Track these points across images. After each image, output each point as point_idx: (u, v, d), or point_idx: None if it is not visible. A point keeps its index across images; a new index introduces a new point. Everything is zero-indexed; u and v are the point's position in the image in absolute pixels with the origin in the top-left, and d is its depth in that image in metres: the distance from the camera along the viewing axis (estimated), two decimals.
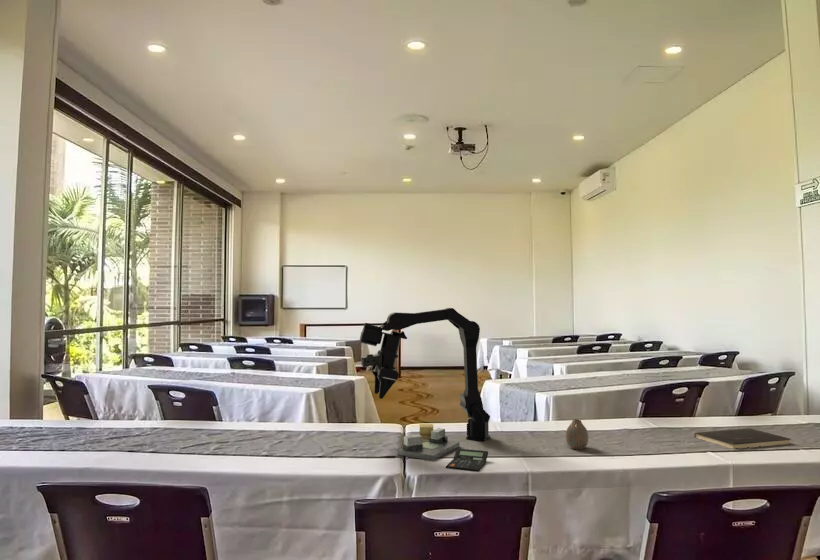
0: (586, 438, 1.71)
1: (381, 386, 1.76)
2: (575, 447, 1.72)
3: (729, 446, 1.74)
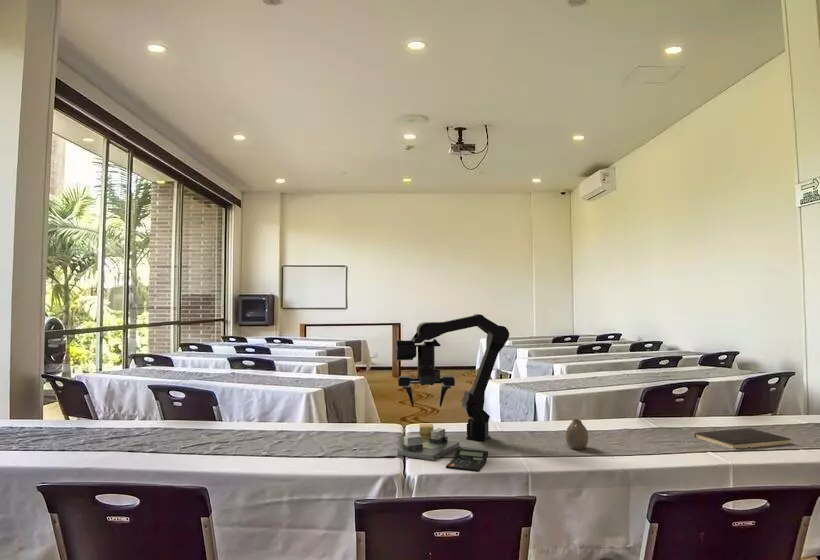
0: (586, 438, 1.71)
1: None
2: (575, 447, 1.72)
3: (729, 446, 1.74)
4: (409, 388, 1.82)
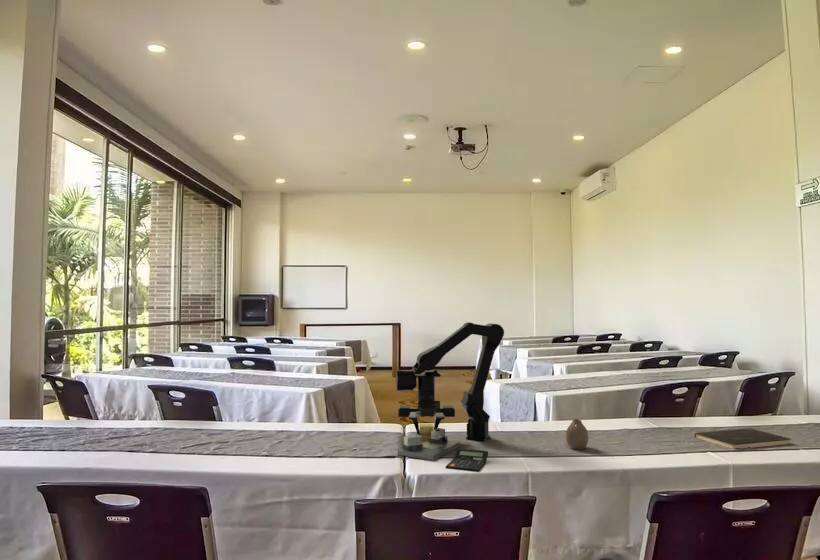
0: (586, 438, 1.71)
1: None
2: (575, 447, 1.72)
3: (729, 446, 1.74)
4: (415, 419, 1.82)
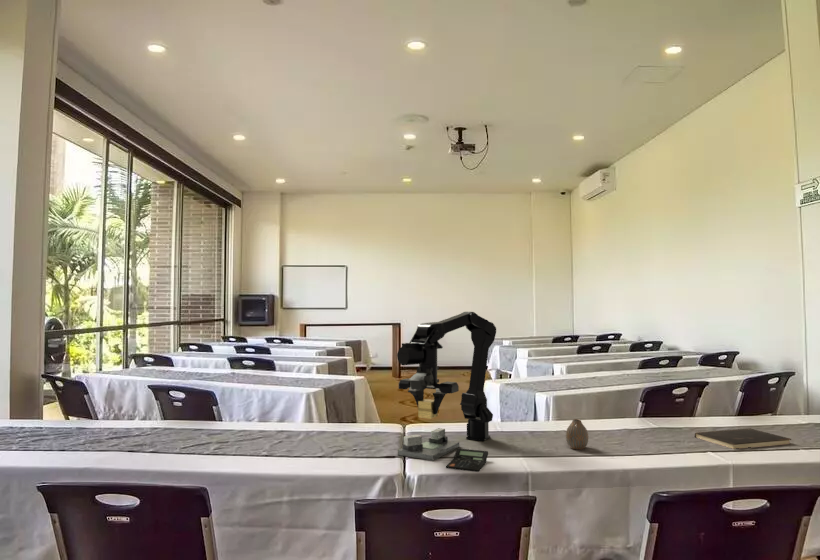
0: (586, 438, 1.71)
1: (437, 402, 1.70)
2: (575, 447, 1.72)
3: (729, 446, 1.73)
4: (413, 392, 1.73)
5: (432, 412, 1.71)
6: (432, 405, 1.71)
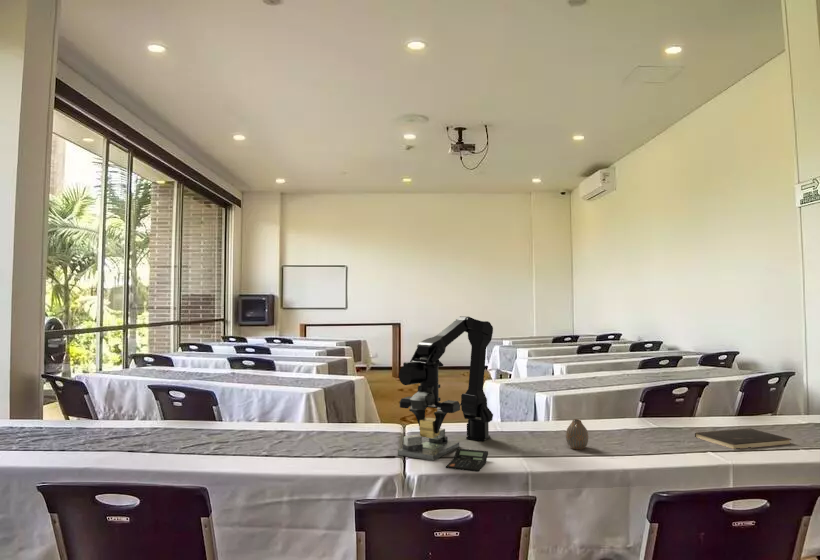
0: (586, 438, 1.71)
1: (439, 421, 1.69)
2: (575, 447, 1.72)
3: (729, 446, 1.73)
4: (415, 411, 1.71)
5: (434, 431, 1.69)
6: (433, 424, 1.69)
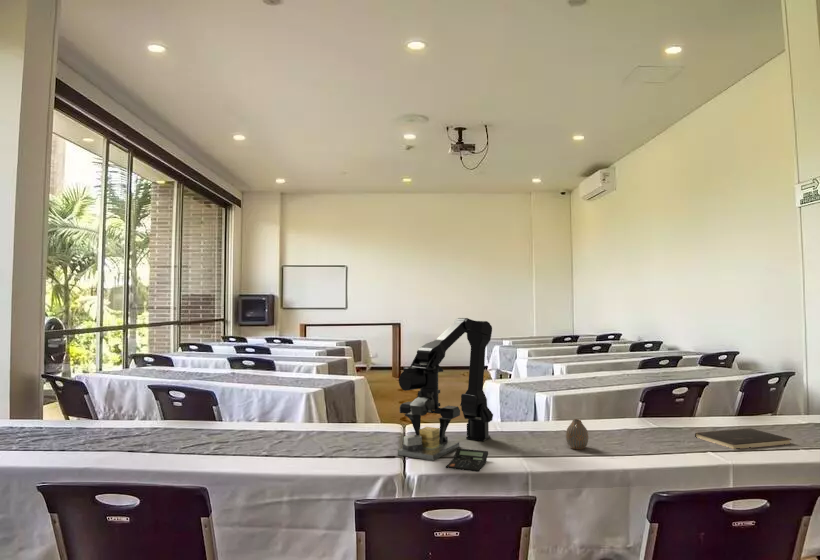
0: (586, 438, 1.71)
1: (443, 427, 1.68)
2: (575, 447, 1.72)
3: (730, 446, 1.73)
4: (410, 416, 1.72)
5: (433, 441, 1.69)
6: (433, 434, 1.69)
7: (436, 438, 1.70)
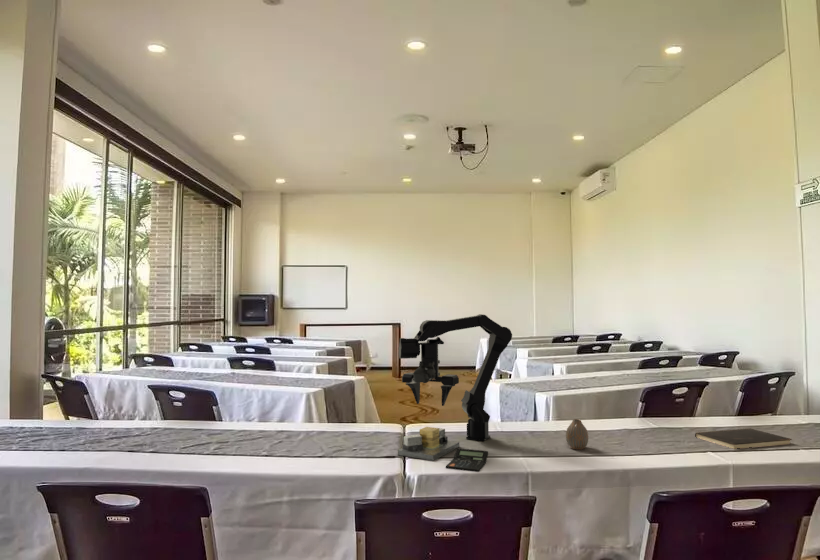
0: (586, 438, 1.71)
1: (445, 394, 1.81)
2: (575, 447, 1.72)
3: (730, 446, 1.73)
4: (411, 385, 1.85)
5: (433, 441, 1.69)
6: (433, 434, 1.69)
7: (436, 438, 1.70)
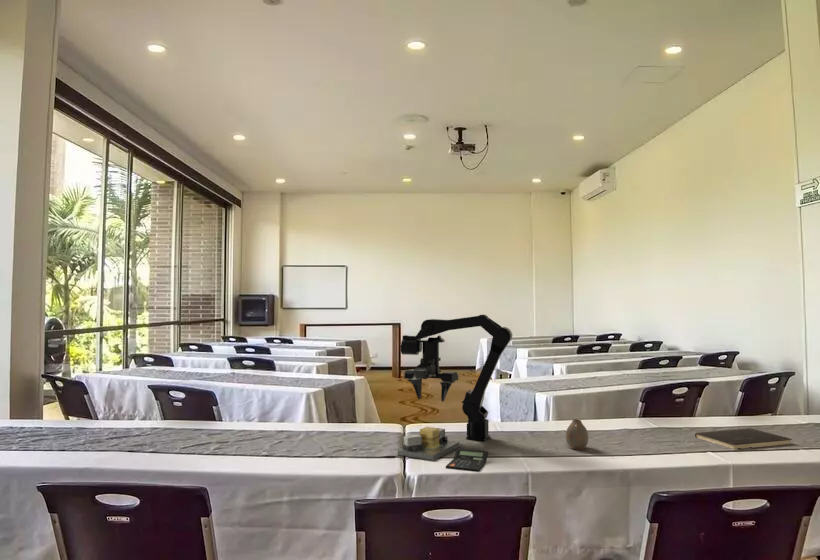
0: (586, 438, 1.71)
1: (444, 390, 1.88)
2: (575, 447, 1.72)
3: (730, 446, 1.73)
4: (412, 381, 1.92)
5: (433, 441, 1.69)
6: (433, 434, 1.69)
7: (436, 438, 1.70)
